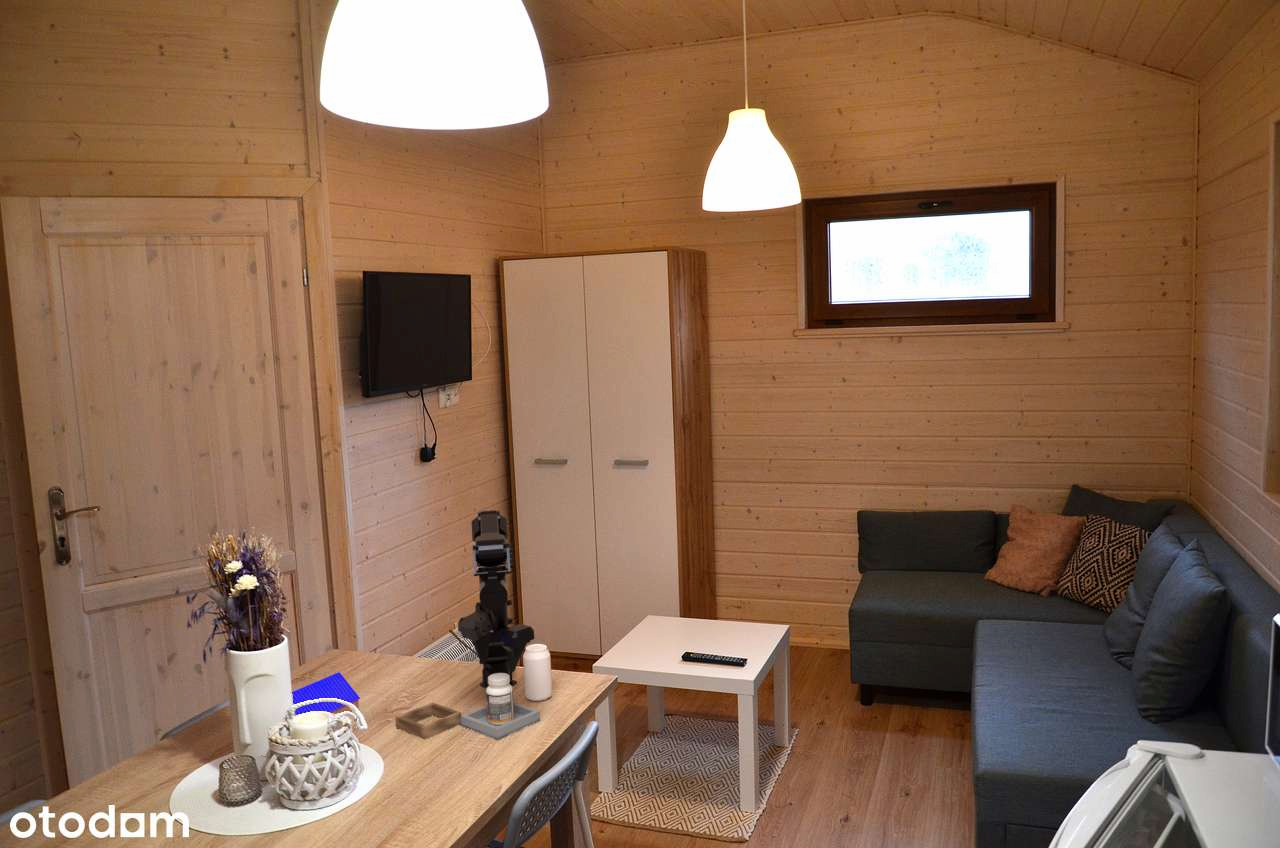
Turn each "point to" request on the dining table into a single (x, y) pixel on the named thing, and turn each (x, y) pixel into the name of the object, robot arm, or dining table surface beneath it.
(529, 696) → the beverage can
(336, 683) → the blue ribbed roof
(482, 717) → the tray
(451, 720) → the socket collar
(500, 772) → the dining table surface
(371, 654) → the dining table surface
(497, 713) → the pill bottle
